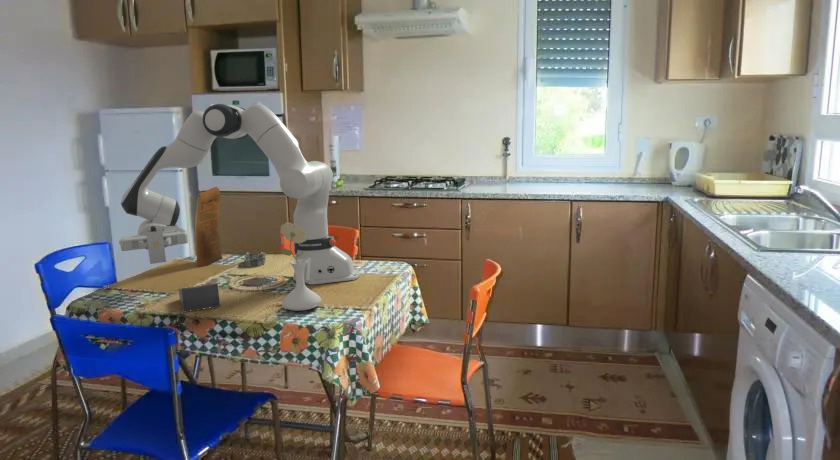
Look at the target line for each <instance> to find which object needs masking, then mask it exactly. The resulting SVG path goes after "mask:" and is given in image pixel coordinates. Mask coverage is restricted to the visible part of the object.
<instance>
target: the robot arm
mask: <svg viewBox="0 0 840 460" xmlns="http://www.w3.org/2000/svg"><path fill="white" fill-rule="evenodd" d="M247 136H250V138H251V139H252V140H253V141H254V142H255V144H256V145H257V146H258V147H259V149H260V150H261V151H262V152H263V153H264V155H265V156H266V157H267V158H268V159H269V161H270V163H271V164H272V165H273V167H274V169H275V171H276V173H277V175H278V178H279V186H280V189H281V191H282V193H284V195H285V196H287V197H288V198H291V199H297V202H296V207H295V210H294V212H293V223H295V224H296V225H297V226H300V227H301V228H303V229H304V232H306V235H307V236H306V239H305V240H306V241H305V242H303V243H300V244H298V243H294V242H293V251H294V252H293V253H294V255H295V258H296V259H297V260H307V261H308V262H307V263H306V265H305V268H304V283H305V284H308V285H320V284H329V283H338V282H347V281H354V280H356V279H358V278H359V277H360V275H361V274H360V273H361V272H360V270H359V268H357V267H354V265H353V261H352V258H351V257H350V255H349V254H348V253H346V252H345V251H343V250H342V249H340V248H338V247H337V246H336V239H335V237H334V236H333V235H329V230H328V229H329V227H328V205H329V199H330V198H329V196H330V191H331V190H330V189H331V186H332V183H333V179H334V174H333V170H332V168H331V166H330V165H328V164H327V163H324V162H323V161H320V160H319V161H318V160H311V161H307V160H306V158H305V157H304V156H303V154H302V150H301V148H300V143H299V141H298V139H296V137H295V136H294V135H293V134H292V132H291V131H290V130H289V129H288V127H287V126H286V125H285V123H283V121H282V120H281V119H280V118H279V117H278V116H277V115H276V114H275V113H274V112H273V111H272V110H271V109H270V108H268V107H267V106H266V105H264V104H262V103H254V104H252V105H250V106H249V107H247V108H246V109H245V108H243V107H239V106H236V105H233V104H224V103H216V104H213V105H210V106H209V107H207V108H206V109H205V110H204V111H200V110H196V111H193V112H192V113H190V114H189V116H188V117H187V118H186V120H185V121H184V122H183V125H182V126H181V128H180V130H178V133H177V135H176V137H175V139H174V140H173V141H172V143H170V144H168V145H166V146H165V145H164V146H161V147H160V148H159V149H157V151H156V152H155V153H154V154H153V156H152V157H150V159H149V160H148V161H147V164H146V165H145V166H144V168H143V169H142V171H141V172H140V173H139V175H138V176H137V178H136V179H135V180H134V181H133V183H132V184H131V185H130V186H129V187H128V188H127V190H126V191H124V193H123V195H122V197H121V202H120V205H121V207H122V209H123V210H124V212H125V213H126V215H131V216H134V217H139V218H142V219H145V220H143V221H142V222H141V223H140V224H139V227H138V230H137V234H135V235H125V236H123V237H121V238H120V240H118V241H119V242H118V243H119V245H120V250H121V251H122V252H126V251H127V252H128V251H136V250H144V249H146V250H147V251H148V243H147V237H146V230H150V229H151V228H150V227H151V226H157V229H159V228H161V229H162V232H163V240H164V248H165V249H166V248H167V247H172V246H177V245H183V244H188V243H189V238H188V237H189V236H188V232H187V230H186V229H184V228H182V227H181V225H180V224H177V222H178V220H179V217H180V213H181V207H180V205H179V202H178V200H176V199H174V198H172V197H169V196H166V195H163V194H162V193H161V194H160V193H157V192H156V191H153V190H150V189H148V186H149V184H150V183H152V181H153V180H154V178H155V176H156V175H157V174H158V172H159V171H161V170H162V169H163V170H164V169H166V168H177V169H178V168H181V169H189V168H194V167H197V166H199V165H200V164H201V165H202V163H203V161H204V160H205V158H207V155H208V153H209V152H210V149H211V147H212V145H213V142H214V140H215V139H217V138H224V139H229V140H230V139H231V140H232V139H243V138H245V137H247ZM303 251H305V252H304V253H303V254H302V255H300V256H298V257H296V256H297V255H298V254H299V253H301V252H303ZM292 279H293V280H294V281H295V282H296V275H295V271H294V272H293V277H292Z"/></svg>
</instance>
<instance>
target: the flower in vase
mask: <svg viewBox="0 0 840 460" xmlns="http://www.w3.org/2000/svg"><path fill="white" fill-rule="evenodd" d="M280 234H281V235H282V236H283V237H284V238H285V239H286V240H287V241H289V249H287V248H284V249H282V250H281V252H280V254H282V255H286V256H288V257H290V256H292V257H293V258H294V259H293V260H291V261H289V264H290V265H291V267H293V270H294V271H295V275H296V281H295V287H294V289H292V291H291V292H289V293H288V294H287V295H286V296H285V297H284V298H283V299H282V302H281V306H282V307H283V308H284V309H285V310H289V311H297V312H299V311H300V312H302V311H307V310H311V309H315V308H317V307H318V306H320V305H321V303H322V302H323V301H322V299H321V296H320V295H318V293H316V292H314V291H313V290H311V289H310V288H308V287H307V286H306V283H304V268H305V265H306V263H307V262H308V261H307V260H297V259H296V257H298V256H300V255H302V254H303V253H304V252H305V251H303V252H301V253H299V254H298V255H297V256H296V255H295V253H294V252H293V250H292V242H293V244H294V243H298V244H300V243H303V242H305V241H306V240H305V239H306V236H307V235H306V232H304V229H303V228H301V227H300V226H297V225H296V224H295V223H294V222H293V223H292V222H285V223H283V224H282V225H280Z"/></svg>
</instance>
